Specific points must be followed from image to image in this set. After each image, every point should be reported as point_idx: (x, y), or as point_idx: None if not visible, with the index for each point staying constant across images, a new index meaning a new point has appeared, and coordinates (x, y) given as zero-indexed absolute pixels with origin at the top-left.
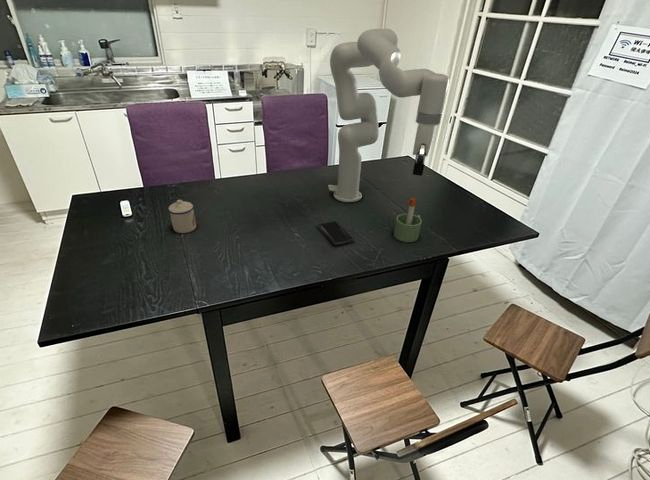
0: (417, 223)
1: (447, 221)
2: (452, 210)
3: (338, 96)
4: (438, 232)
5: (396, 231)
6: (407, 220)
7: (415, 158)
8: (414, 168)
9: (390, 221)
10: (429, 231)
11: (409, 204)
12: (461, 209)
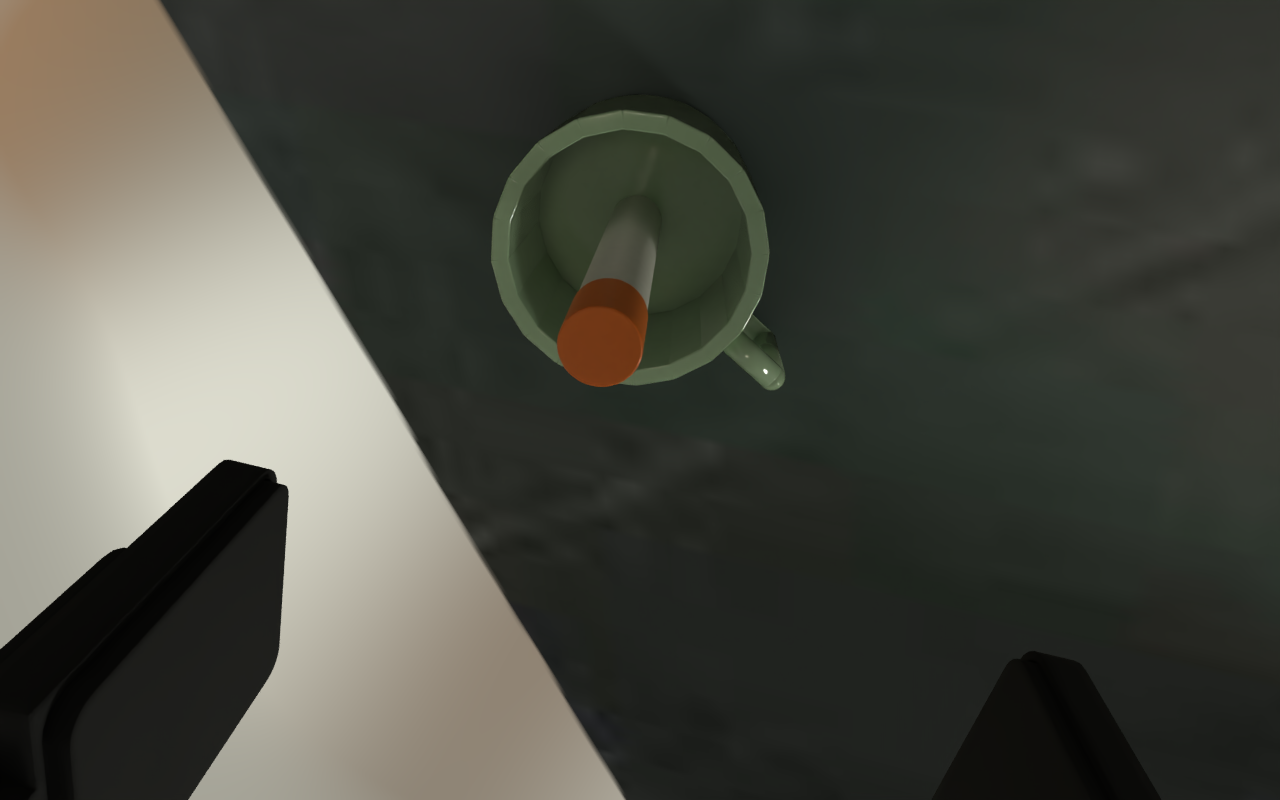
0: (672, 340)
1: (893, 594)
2: None
3: None
4: (713, 490)
5: (585, 110)
6: (604, 236)
7: (1106, 772)
8: (125, 580)
9: (924, 95)
10: (727, 427)
11: (599, 283)
12: None
